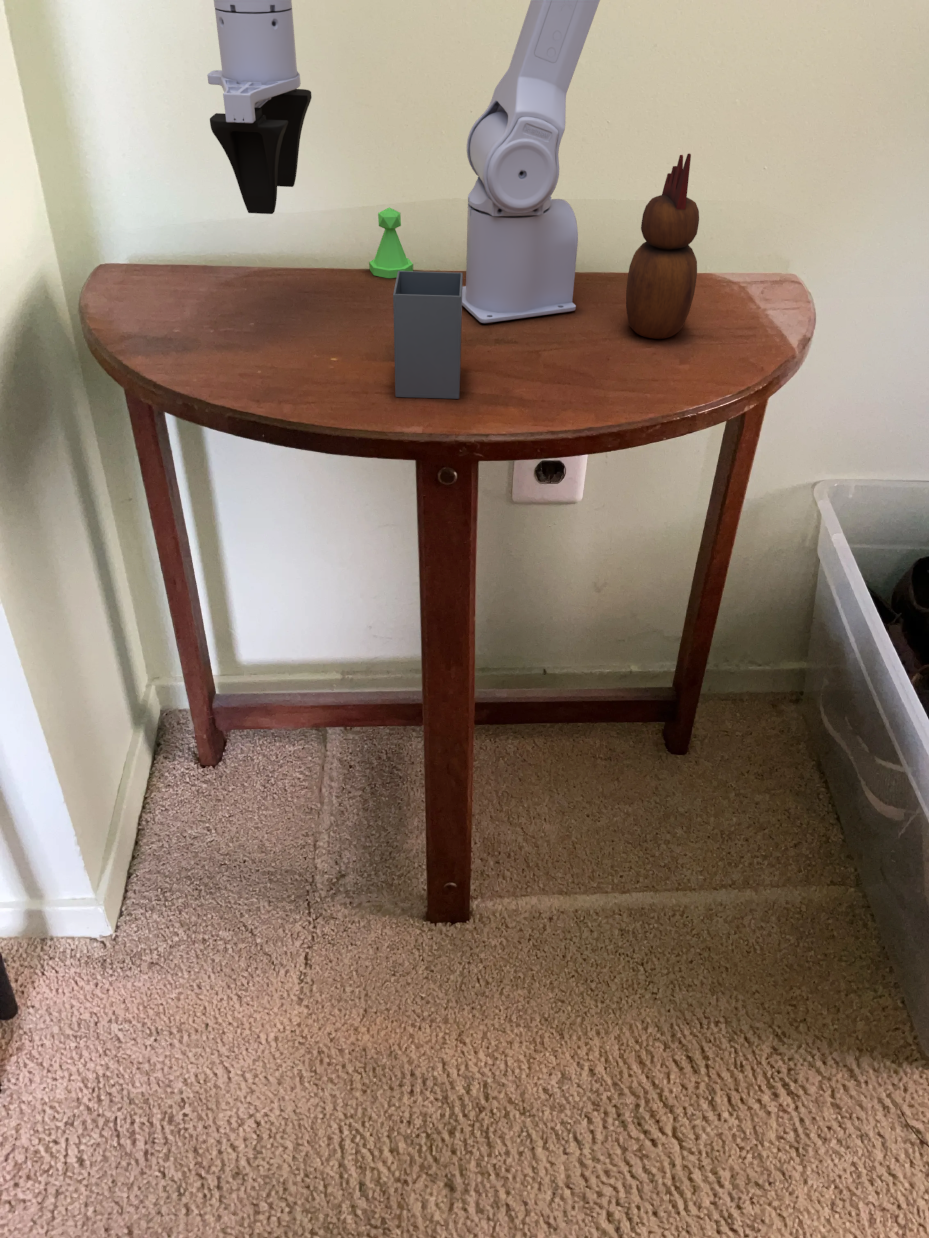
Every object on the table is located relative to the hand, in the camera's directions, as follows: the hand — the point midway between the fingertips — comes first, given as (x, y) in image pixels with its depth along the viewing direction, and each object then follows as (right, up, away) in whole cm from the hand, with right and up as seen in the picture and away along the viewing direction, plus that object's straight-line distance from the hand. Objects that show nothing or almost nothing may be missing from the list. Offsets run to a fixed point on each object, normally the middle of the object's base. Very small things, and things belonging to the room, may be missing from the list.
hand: (272, 198), depth 82 cm
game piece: (+9, -1, +15) cm, 18 cm away
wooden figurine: (+33, -10, +5) cm, 34 cm away
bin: (+13, -17, -5) cm, 22 cm away
